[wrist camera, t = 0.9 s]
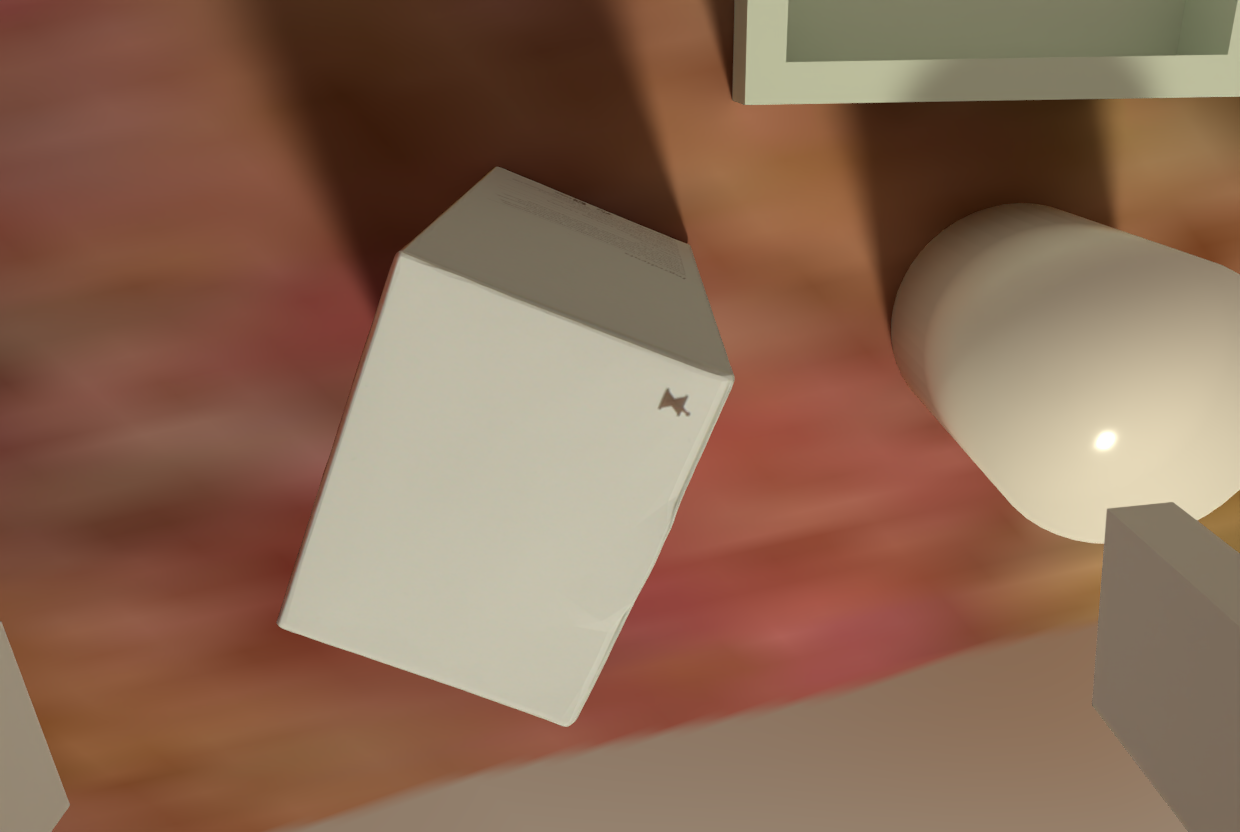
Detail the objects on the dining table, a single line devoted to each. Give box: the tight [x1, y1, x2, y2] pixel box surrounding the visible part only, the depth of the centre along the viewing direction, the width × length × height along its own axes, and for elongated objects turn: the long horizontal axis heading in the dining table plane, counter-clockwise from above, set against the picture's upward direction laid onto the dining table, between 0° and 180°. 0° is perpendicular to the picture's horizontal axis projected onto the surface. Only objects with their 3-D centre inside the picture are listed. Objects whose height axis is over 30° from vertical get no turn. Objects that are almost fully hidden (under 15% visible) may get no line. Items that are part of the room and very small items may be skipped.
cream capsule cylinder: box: [891, 203, 1240, 544], centre depth 26 cm, size 7×7×8 cm
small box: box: [277, 167, 734, 727], centre depth 24 cm, size 8×6×13 cm
